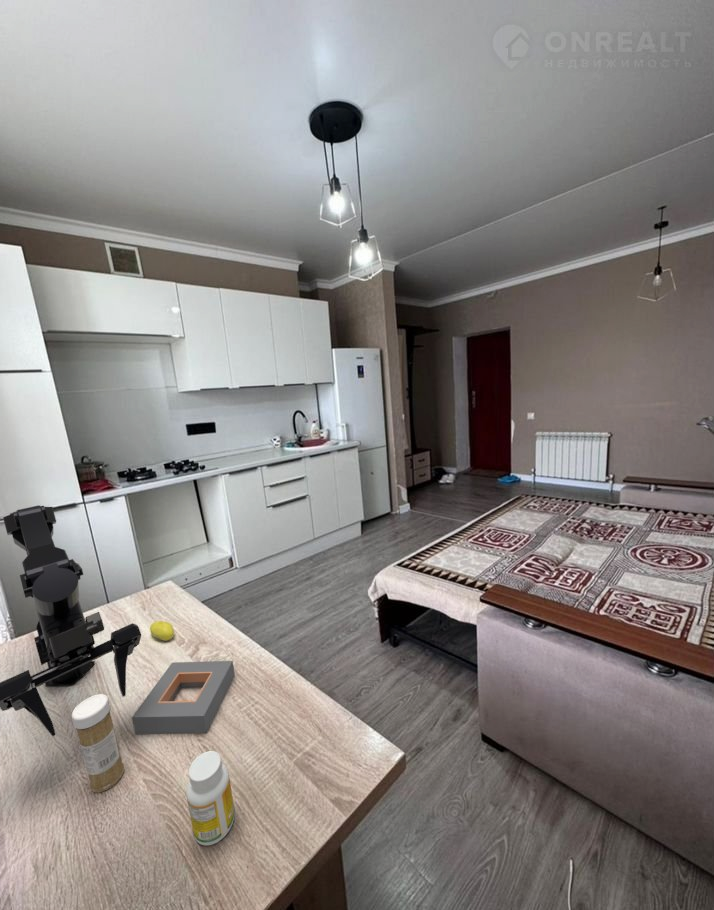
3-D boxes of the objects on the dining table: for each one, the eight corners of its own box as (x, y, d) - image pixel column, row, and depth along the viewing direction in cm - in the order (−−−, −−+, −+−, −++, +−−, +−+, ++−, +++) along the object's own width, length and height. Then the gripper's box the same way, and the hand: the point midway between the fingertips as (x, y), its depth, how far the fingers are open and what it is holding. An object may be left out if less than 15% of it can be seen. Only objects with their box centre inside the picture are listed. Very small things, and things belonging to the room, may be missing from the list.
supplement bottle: (206, 857, 47) (194, 796, 45) (186, 827, 50) (174, 769, 49) (243, 818, 51) (233, 761, 49) (222, 793, 54) (213, 738, 53)
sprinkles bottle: (122, 758, 61) (106, 687, 59) (126, 779, 58) (109, 705, 55) (88, 777, 58) (70, 704, 56) (91, 801, 55) (71, 724, 52)
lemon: (162, 647, 88) (159, 632, 87) (147, 635, 93) (144, 621, 92) (179, 637, 91) (177, 623, 90) (164, 626, 96) (161, 613, 95)
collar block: (135, 734, 65) (131, 717, 65) (174, 677, 78) (172, 662, 77) (206, 733, 64) (203, 715, 64) (234, 675, 77) (232, 660, 77)
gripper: (-21, 636, 52) (2, 750, 47) (127, 581, 65) (160, 664, 60) (-8, 660, 59) (13, 762, 53) (124, 606, 72) (153, 683, 66)
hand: (91, 714), depth 58 cm, fingers open, 9 cm apart
